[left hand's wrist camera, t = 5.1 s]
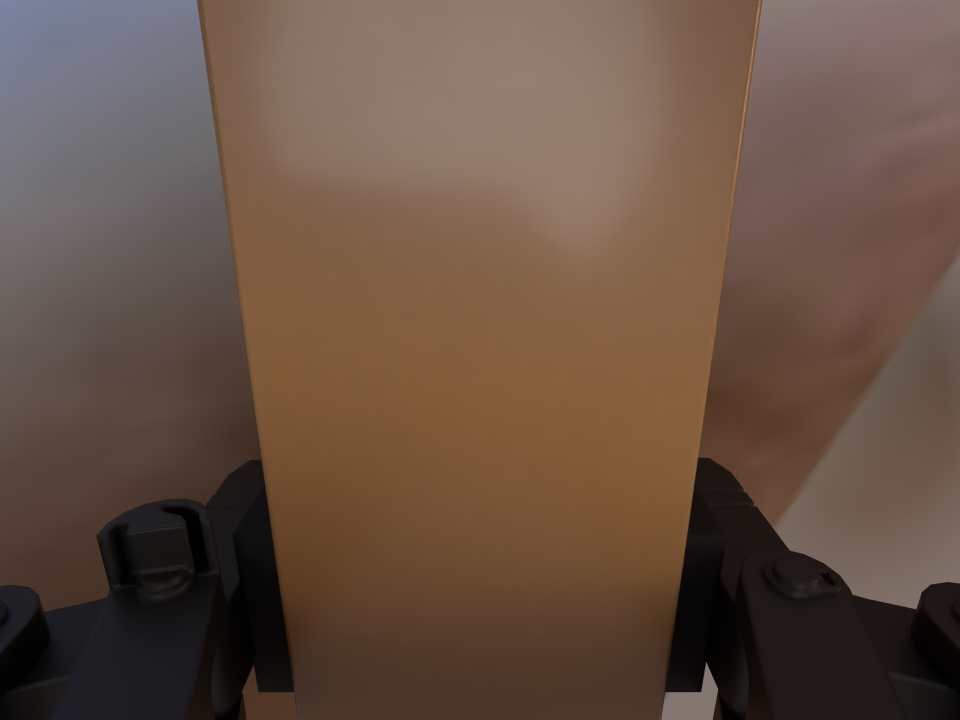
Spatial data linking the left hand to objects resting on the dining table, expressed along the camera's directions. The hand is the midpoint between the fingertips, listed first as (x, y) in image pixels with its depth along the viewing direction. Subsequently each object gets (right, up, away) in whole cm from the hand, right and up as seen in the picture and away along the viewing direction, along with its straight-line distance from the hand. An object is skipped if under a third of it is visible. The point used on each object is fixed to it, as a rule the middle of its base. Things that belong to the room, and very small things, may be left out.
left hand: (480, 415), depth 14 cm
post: (0, +24, -8) cm, 25 cm away
